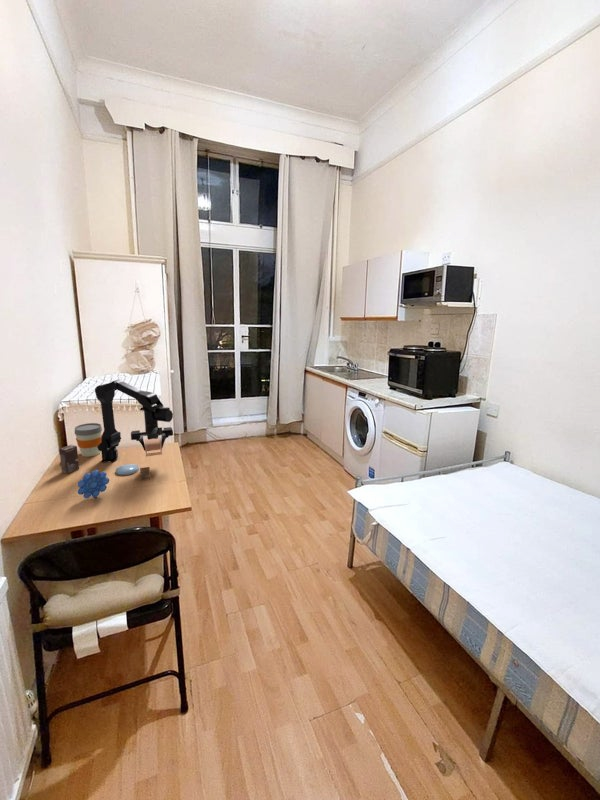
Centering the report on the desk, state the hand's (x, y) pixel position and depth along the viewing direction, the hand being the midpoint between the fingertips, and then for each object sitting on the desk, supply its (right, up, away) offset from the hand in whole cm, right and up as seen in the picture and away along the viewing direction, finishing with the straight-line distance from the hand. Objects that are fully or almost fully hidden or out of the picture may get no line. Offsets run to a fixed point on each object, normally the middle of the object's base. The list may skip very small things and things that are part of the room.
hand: (153, 449), depth 174 cm
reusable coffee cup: (-40, -4, +16) cm, 43 cm away
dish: (-11, -10, -3) cm, 15 cm away
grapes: (-13, -16, -26) cm, 33 cm away
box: (-38, -10, -5) cm, 39 cm away
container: (0, -1, 0) cm, 2 cm away
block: (0, -12, -10) cm, 15 cm away
